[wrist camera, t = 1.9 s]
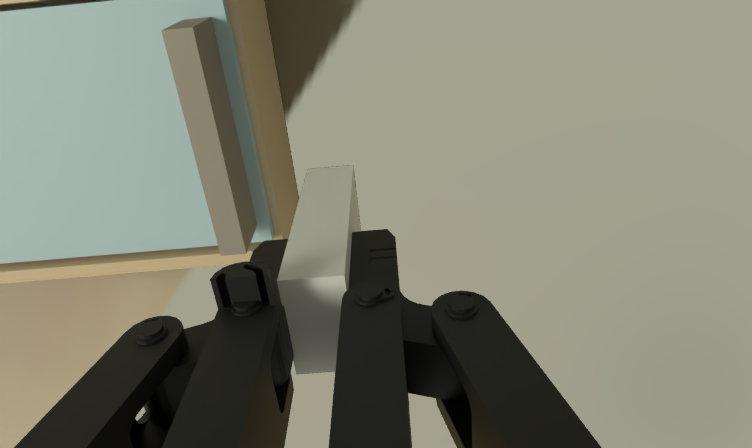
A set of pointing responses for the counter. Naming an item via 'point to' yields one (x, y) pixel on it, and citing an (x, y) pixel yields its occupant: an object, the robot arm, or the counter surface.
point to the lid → (125, 132)
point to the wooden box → (271, 150)
